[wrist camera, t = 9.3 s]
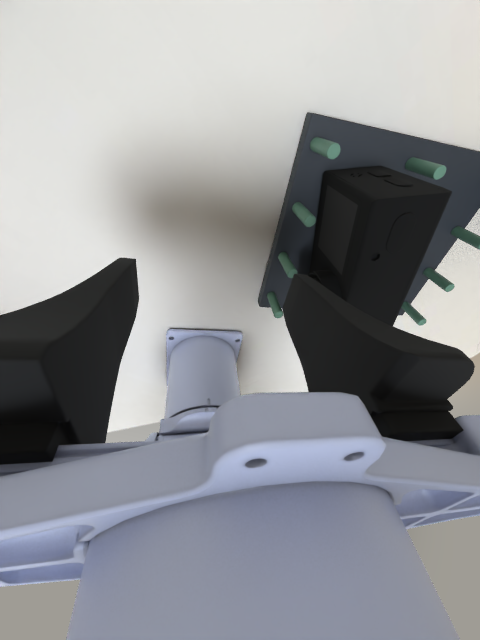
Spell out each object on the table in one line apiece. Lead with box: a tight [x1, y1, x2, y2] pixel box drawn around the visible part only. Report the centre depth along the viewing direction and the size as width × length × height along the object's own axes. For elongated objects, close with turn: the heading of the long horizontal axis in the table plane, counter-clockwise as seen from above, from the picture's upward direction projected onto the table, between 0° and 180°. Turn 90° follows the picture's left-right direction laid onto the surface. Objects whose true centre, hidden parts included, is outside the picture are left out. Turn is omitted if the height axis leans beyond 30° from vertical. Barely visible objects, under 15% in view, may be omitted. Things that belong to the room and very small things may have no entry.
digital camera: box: [307, 166, 452, 326], centre depth 19 cm, size 10×5×7 cm, turn 3°
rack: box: [258, 113, 480, 325], centre depth 22 cm, size 15×16×4 cm
